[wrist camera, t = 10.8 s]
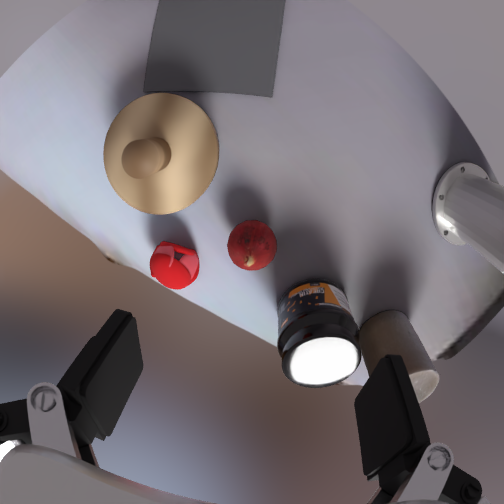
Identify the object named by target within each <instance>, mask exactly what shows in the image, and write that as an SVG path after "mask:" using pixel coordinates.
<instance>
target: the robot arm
mask: <svg viewBox="0 0 504 504" xmlns="http://www.w3.org/2000/svg"><path fill="white" fill-rule="evenodd" d="M432 213H433V220H434V223H435V226H436V229H437V230H438V232H439V234H440V235H441V236H442V237H443V238H444V239H445V240H446V241H448V242H449V243H451V244H454V245H466V244H468V245H469V246H471V247H472V248H473V249H474V250H476V251H477V252H478V253H479V254H481V255H482V256H483V257H484V258H485V259H487V260H488V261H489V262H490V263H491V264H492V265H494V266H495V267H496V268H497V269H498V270H499V271H500V272H502V273H503V274H504V186H501V185H499V184H497V183H494V182H492V181H490V178H489V177H488V175H487V173H486V172H485V171H484V170H483V169H482V168H481V167H479V166H478V165H476V164H473V163H469V162H461V163H458V164H455V165H453V166H452V167H450V168H449V169H448V170H447V171H446V172H445V173H444V174H443V176H442V177H441V179H440V180H439V183H438V185H437V187H436V190H435V193H434V197H433V204H432ZM142 370H143V360H142V355H141V349H140V344H139V337H138V330H137V324H136V319H135V318H134V317H133V316H132V314H131V313H130V312H127V311H123V310H120V309H116V310H115V311H114V312H113V314H112V315H111V316H110V317H109V319H108V320H107V321H106V323H105V324H104V325H103V327H102V328H101V329H100V330H99V332H98V333H97V335H96V336H94V337H92V338H91V339H90V340H89V341H88V342H87V344H86V345H85V347H84V348H83V349H82V351H81V352H80V353H79V355H78V356H77V357H76V359H75V360H74V362H73V363H72V364H71V366H70V367H69V369H68V370H67V371H66V373H65V374H64V376H63V377H62V378H61V380H60V382H59V383H58V384H57V386H55V385H53V384H51V383H39V384H37V385H35V386H34V387H32V388H31V390H30V391H29V393H28V395H27V399H23V400H17V401H12V402H8V403H2V404H0V504H216V503H211V502H205V501H201V500H196V499H191V498H187V497H183V496H179V495H175V494H171V493H168V492H164V491H161V490H158V489H154V488H151V487H148V486H145V485H142V484H139V483H136V482H134V481H131V480H128V479H126V478H123V477H120V476H117V475H115V474H113V473H110V472H108V471H105V470H103V469H101V468H100V467H99V465H98V462H97V459H96V457H95V454H94V451H93V448H92V445H91V443H92V442H93V440H94V438H95V437H96V438H98V439H101V440H103V441H104V440H105V438H106V436H110V435H111V434H112V432H113V430H114V428H115V425H116V423H117V421H118V419H119V417H120V415H121V413H122V411H123V409H124V407H125V405H126V402H127V400H128V398H129V396H130V394H131V392H132V390H133V388H134V386H135V384H136V382H137V380H138V378H139V376H140V374H141V372H142ZM354 406H355V413H356V419H357V426H358V433H359V440H360V446H361V455H362V464H363V472H364V475H366V476H367V480H368V481H373V480H379V485H380V486H379V488H378V489H377V490H376V492H375V493H374V495H373V496H372V497H371V499H370V500H369V501H368V503H367V504H490V502H489V501H488V500H487V498H486V497H485V496H483V497H481V494H482V488H481V484H480V483H479V481H478V480H477V479H476V478H474V477H472V476H471V475H469V474H467V473H466V472H464V471H462V470H461V469H459V468H458V467H456V466H454V465H453V462H454V457H453V453H452V451H451V450H450V448H449V447H448V446H446V445H445V444H442V443H433V444H431V443H430V438H429V435H428V431H427V428H426V425H425V422H424V418H423V415H422V412H421V409H420V406H419V403H418V400H417V397H416V394H415V391H414V388H413V385H412V382H411V380H410V377H409V374H408V371H407V369H406V366H405V364H404V361H403V358H402V356H401V355H392V354H387V355H385V357H384V358H381V359H380V360H379V362H378V364H377V366H376V367H375V369H374V370H373V372H372V374H371V375H370V377H369V379H368V380H367V382H366V383H365V385H364V386H363V388H362V389H361V391H360V393H359V394H358V396H357V397H356V399H355V404H354Z"/></svg>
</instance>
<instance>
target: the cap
mask: <svg viewBox="0 0 504 504" xmlns="http://www.w3.org/2000/svg"><path fill="white" fill-rule="evenodd" d="M174 251H175V252H178V253H181V254H184V256H183V257H182V258H181V259H180V260H179V261H178V260H177V259H175V258H174ZM150 270H151V276H152V277H156V279H157V280H158V281H159V282H160V283H161V284H163V285H164V286H166V287H168V288H171V289H182V288H185V287H186V286H188V285H190V284H191V283H192V282H193V281H195V279H196V278H197V276H198V273H199V258H198V255H197V253H196V252H195V250H194V249H188V248H186V247H183V246H180V245H177V244H173V243H169V242H165V241H162V242H161V243H160V245H158V246H157V247H156V249H155V251H154V252H153V254H152V256H151V259H150Z"/></svg>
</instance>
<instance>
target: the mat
mask: <svg viewBox="0 0 504 504" xmlns="http://www.w3.org/2000/svg"><path fill="white" fill-rule="evenodd" d="M284 6H285V0H160V2H159V6H158V10H157V14H156V19H155V24H154V28H153V33H152V39H151V44H150V50H149V56H148V62H147V69H146V76H145V83H144V91H143V92H162V91H196V92H220V93H235V94H246V95H256V96H265V97H272V96H273V89H274V81H275V74H276V66H277V59H278V51H279V44H280V36H281V29H282V21H283V14H284Z"/></svg>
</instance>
